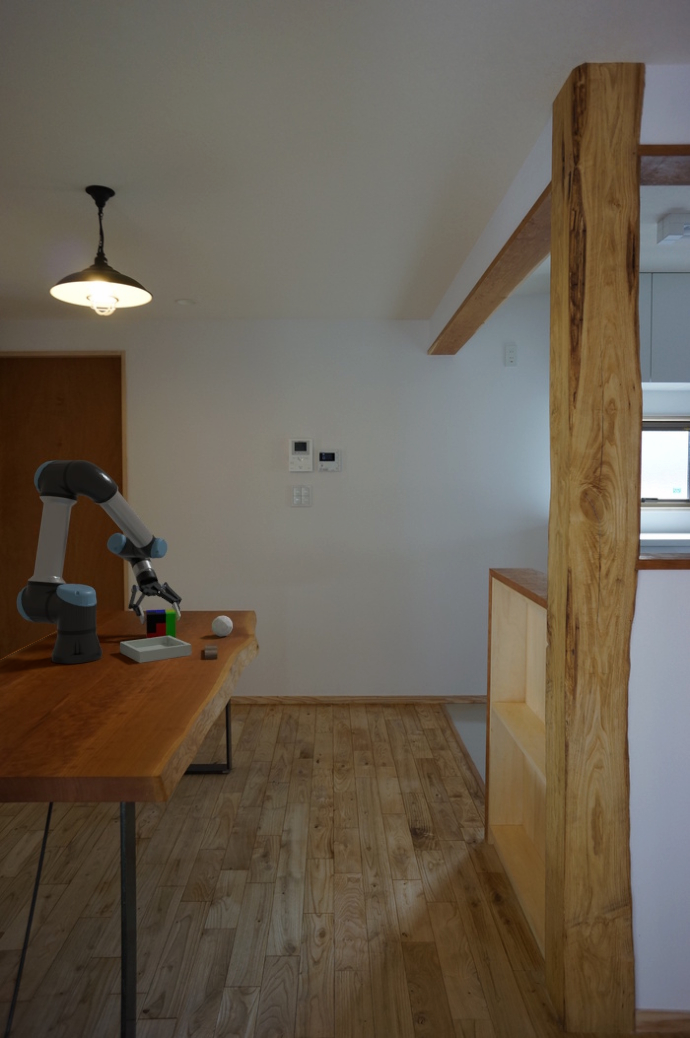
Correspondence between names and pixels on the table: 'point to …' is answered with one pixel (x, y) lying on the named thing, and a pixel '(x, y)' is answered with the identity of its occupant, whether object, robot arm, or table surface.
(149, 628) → the puzzle toy
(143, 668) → the table surface
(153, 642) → the white square tray
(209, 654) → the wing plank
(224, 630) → the geometric ball
